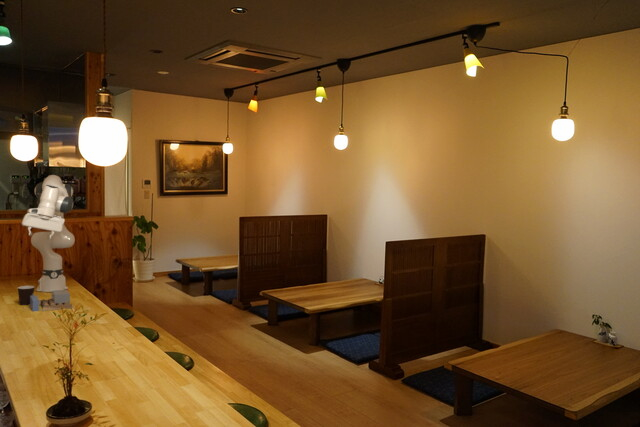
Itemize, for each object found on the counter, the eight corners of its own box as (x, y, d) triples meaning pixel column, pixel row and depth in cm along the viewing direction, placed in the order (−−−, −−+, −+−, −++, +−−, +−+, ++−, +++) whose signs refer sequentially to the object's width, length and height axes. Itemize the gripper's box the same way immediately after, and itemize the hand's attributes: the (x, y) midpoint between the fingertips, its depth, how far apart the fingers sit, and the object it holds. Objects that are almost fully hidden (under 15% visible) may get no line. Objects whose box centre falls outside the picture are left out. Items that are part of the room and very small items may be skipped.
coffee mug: (28, 306, 292) (28, 289, 291) (14, 305, 292) (14, 288, 291) (40, 301, 303) (40, 285, 303) (26, 300, 303) (26, 284, 303)
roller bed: (38, 304, 297) (38, 299, 296) (66, 301, 305) (66, 296, 305) (42, 311, 282) (42, 305, 282) (72, 308, 291) (72, 303, 291)
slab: (51, 299, 298) (51, 290, 297) (66, 297, 302) (66, 289, 302) (54, 303, 288) (54, 295, 288) (69, 302, 293) (70, 293, 292)
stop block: (29, 305, 292) (30, 295, 292) (35, 305, 294) (35, 295, 294) (32, 311, 281) (32, 300, 281) (38, 310, 283) (39, 300, 282)
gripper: (64, 217, 290) (58, 241, 287) (24, 209, 278) (18, 233, 275) (66, 216, 285) (60, 240, 282) (26, 208, 273) (19, 233, 270)
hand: (39, 237), depth 279 cm, fingers open, 8 cm apart
